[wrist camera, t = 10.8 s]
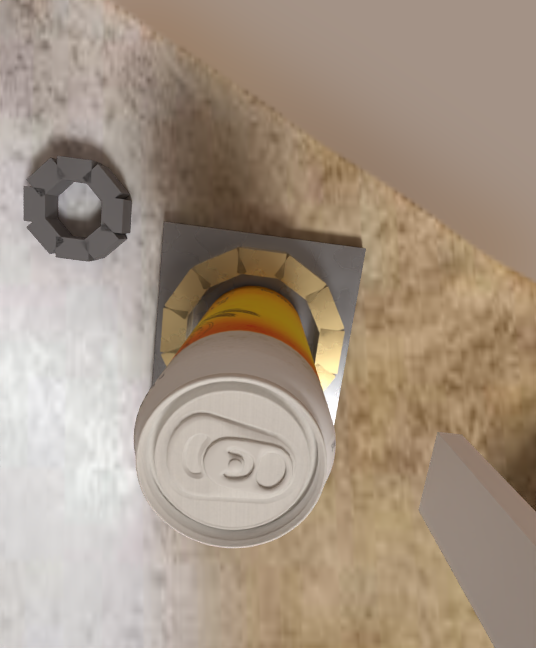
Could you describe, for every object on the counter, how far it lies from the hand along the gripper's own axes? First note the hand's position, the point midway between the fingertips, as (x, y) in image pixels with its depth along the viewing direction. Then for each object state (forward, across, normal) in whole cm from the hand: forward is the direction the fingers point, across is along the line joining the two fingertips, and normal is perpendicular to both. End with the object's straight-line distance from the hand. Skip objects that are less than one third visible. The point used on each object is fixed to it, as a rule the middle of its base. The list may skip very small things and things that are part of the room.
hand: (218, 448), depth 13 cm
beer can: (+14, +1, 0) cm, 14 cm away
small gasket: (+15, -10, +6) cm, 19 cm away
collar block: (+15, +1, 0) cm, 15 cm away
